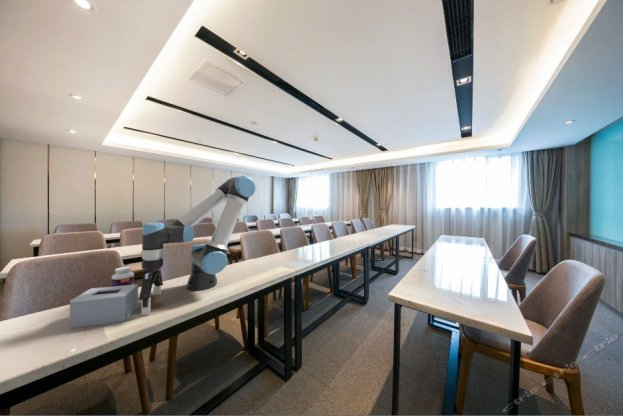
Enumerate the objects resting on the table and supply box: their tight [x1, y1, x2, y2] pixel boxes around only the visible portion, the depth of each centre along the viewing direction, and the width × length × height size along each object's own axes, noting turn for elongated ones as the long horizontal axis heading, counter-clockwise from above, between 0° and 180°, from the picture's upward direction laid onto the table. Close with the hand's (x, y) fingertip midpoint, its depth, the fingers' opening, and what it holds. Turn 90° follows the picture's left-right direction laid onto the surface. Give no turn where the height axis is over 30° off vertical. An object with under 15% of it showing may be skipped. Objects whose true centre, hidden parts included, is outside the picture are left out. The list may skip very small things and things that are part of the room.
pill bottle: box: [110, 266, 135, 287], centre depth 102 cm, size 8×8×14 cm
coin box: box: [69, 283, 139, 329], centre depth 85 cm, size 16×12×10 cm
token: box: [150, 293, 163, 310], centre depth 94 cm, size 6×2×5 cm, turn 110°
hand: (151, 307), depth 94 cm, fingers open, 13 cm apart
